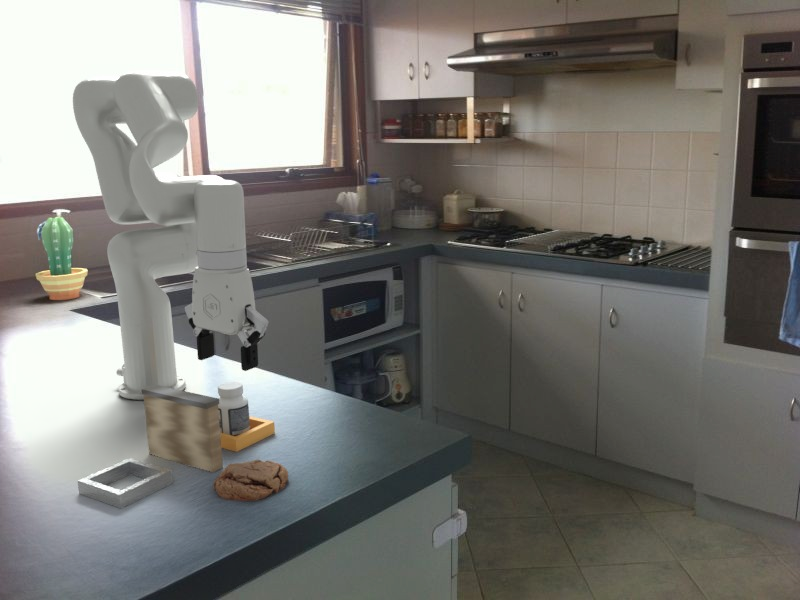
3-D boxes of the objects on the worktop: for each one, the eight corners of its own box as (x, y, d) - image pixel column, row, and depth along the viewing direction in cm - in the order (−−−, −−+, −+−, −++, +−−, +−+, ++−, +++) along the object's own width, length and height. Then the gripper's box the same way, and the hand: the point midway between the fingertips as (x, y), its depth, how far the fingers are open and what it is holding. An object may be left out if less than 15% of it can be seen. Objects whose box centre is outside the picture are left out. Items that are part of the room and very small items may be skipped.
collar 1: (79, 493, 112) (77, 480, 112) (131, 470, 119) (130, 457, 119) (121, 508, 107) (119, 494, 107) (172, 483, 115) (171, 470, 114)
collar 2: (196, 441, 130) (195, 429, 130) (235, 423, 137) (234, 412, 137) (236, 451, 125) (235, 439, 125) (274, 433, 133) (274, 421, 132)
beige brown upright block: (147, 454, 125) (141, 389, 123) (160, 449, 127) (154, 384, 125) (211, 473, 118) (206, 403, 115) (224, 467, 120) (219, 398, 117)
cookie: (303, 484, 114) (302, 464, 113) (242, 511, 106) (241, 490, 106) (259, 466, 121) (258, 447, 120) (200, 490, 113) (198, 470, 112)
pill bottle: (256, 432, 133) (252, 381, 132) (241, 444, 128) (237, 391, 127) (227, 429, 135) (223, 379, 133) (212, 441, 130) (208, 389, 128)
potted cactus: (81, 290, 261) (72, 213, 256) (97, 296, 249) (89, 216, 244) (31, 297, 251) (21, 218, 246) (46, 304, 240) (36, 221, 234)
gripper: (165, 257, 127) (173, 360, 131) (246, 270, 118) (251, 379, 122) (200, 250, 133) (206, 348, 137) (280, 261, 124) (283, 366, 128)
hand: (227, 363), depth 129 cm, fingers open, 9 cm apart
